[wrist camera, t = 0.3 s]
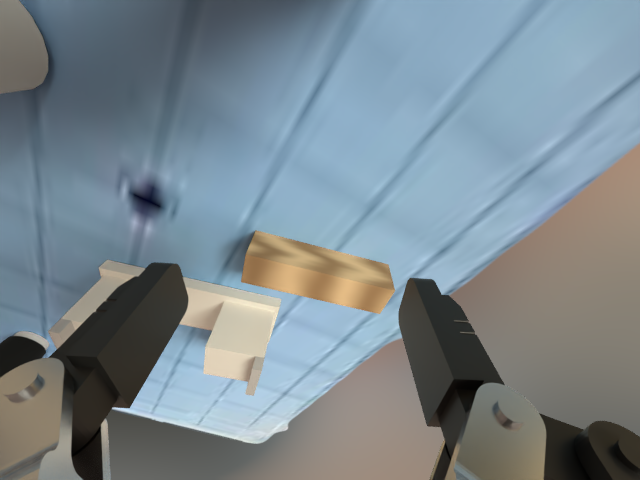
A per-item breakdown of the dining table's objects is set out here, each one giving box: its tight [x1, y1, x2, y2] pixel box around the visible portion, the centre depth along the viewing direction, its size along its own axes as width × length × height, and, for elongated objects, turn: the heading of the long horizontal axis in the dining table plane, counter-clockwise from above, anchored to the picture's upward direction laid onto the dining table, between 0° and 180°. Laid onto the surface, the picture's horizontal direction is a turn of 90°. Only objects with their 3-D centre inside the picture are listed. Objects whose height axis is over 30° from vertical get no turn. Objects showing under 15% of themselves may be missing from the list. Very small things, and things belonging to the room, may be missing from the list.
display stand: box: [48, 260, 281, 396], centre depth 33 cm, size 22×8×10 cm, turn 73°
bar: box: [241, 231, 395, 314], centre depth 30 cm, size 16×4×4 cm, turn 73°
